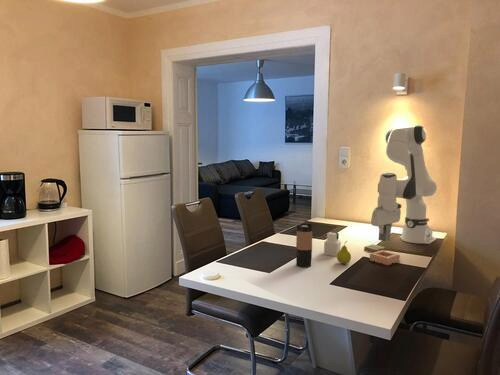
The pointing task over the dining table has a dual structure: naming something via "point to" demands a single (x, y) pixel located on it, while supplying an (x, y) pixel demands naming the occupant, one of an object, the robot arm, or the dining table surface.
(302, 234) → the travel mug
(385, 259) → the terracotta socket
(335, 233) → the medicine bottle
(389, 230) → the metal peg
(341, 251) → the fruit
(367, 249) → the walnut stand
